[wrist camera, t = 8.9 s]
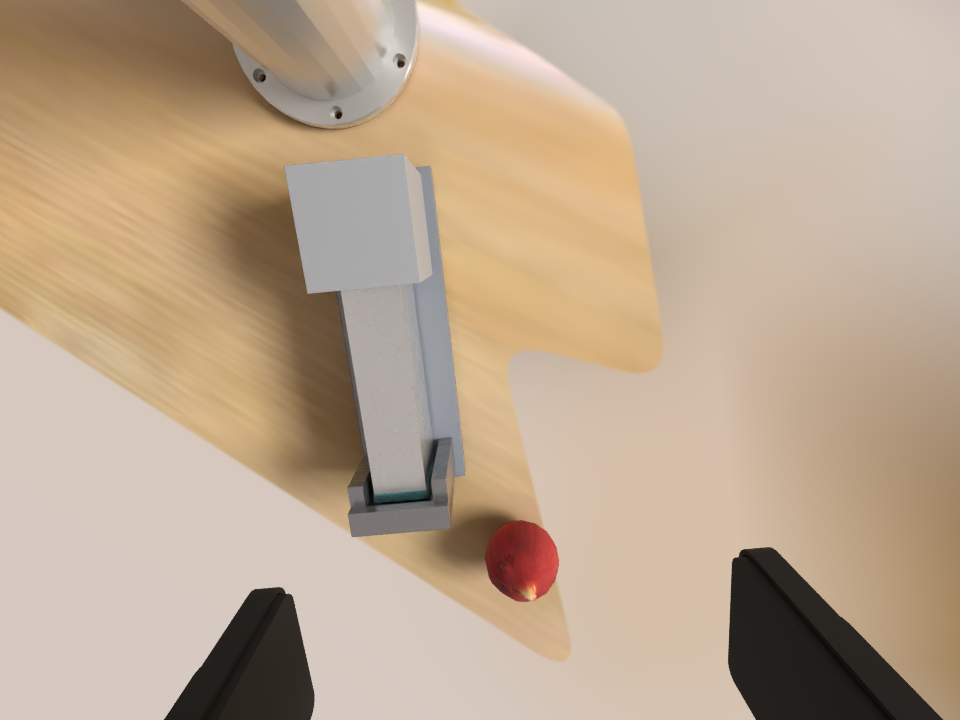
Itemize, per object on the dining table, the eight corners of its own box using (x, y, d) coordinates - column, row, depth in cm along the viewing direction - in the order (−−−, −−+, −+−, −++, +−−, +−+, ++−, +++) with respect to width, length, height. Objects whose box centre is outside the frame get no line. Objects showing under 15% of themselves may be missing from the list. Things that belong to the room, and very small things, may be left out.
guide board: (323, 179, 34) (269, 157, 26) (431, 168, 34) (415, 142, 25) (372, 477, 40) (342, 541, 31) (465, 468, 40) (461, 531, 31)
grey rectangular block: (361, 270, 35) (336, 275, 29) (411, 265, 34) (397, 270, 28) (391, 463, 38) (374, 503, 32) (436, 459, 38) (428, 498, 32)
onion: (492, 565, 42) (495, 637, 34) (479, 509, 41) (479, 571, 33) (556, 554, 42) (573, 624, 34) (545, 497, 41) (560, 556, 33)
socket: (370, 444, 38) (343, 493, 30) (451, 437, 38) (444, 485, 30) (376, 480, 39) (351, 537, 31) (456, 473, 39) (450, 528, 31)
